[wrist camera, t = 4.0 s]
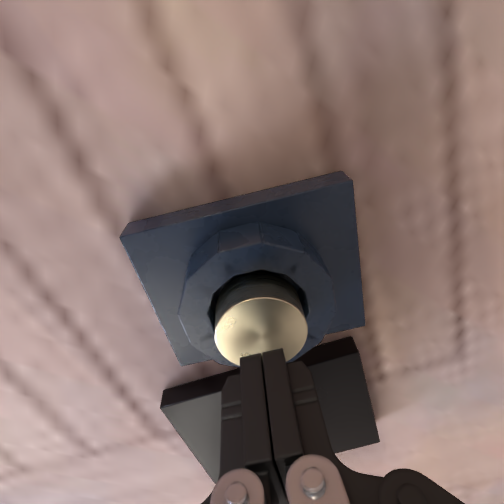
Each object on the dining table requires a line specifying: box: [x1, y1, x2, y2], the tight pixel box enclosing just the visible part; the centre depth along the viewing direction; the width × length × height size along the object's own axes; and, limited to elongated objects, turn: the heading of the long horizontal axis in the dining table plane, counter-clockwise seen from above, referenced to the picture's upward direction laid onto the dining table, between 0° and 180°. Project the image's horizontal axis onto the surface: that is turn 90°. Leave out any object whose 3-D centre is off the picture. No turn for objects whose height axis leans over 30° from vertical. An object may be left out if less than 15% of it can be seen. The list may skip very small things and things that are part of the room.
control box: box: [120, 171, 365, 367], centre depth 16 cm, size 10×8×4 cm
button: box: [215, 272, 308, 366], centre depth 14 cm, size 4×4×2 cm
